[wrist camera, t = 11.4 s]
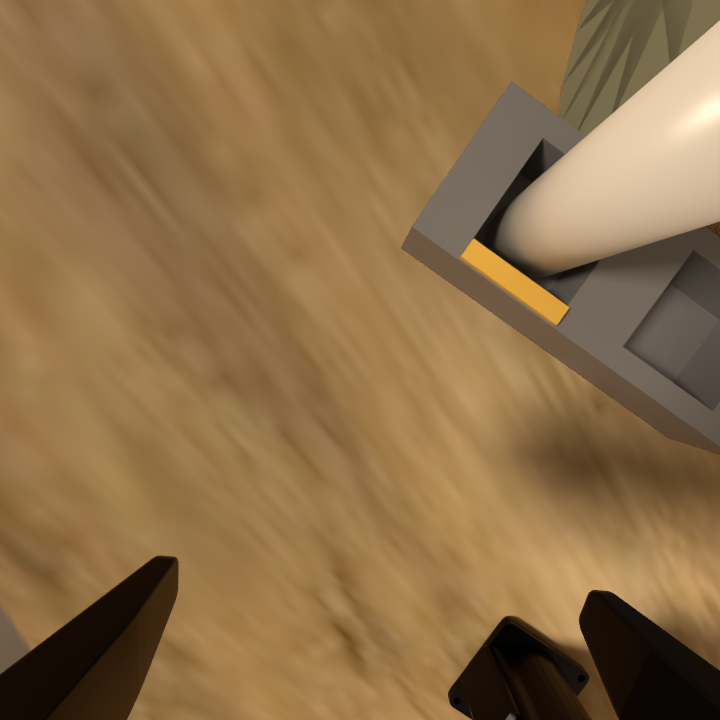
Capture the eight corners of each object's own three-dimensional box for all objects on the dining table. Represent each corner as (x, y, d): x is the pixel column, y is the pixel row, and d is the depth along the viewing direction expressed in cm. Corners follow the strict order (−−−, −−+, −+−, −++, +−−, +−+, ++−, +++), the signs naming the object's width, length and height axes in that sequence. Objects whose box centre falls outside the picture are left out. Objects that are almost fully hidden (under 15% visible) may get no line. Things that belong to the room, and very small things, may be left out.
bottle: (579, 232, 20) (1134, -28, 6) (532, 297, 20) (958, 201, 6) (516, 185, 19) (931, -205, 5) (469, 251, 20) (756, 40, 6)
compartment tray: (749, 330, 21) (850, 328, 17) (668, 438, 21) (746, 463, 17) (480, 131, 20) (514, 75, 16) (400, 248, 21) (412, 224, 16)
